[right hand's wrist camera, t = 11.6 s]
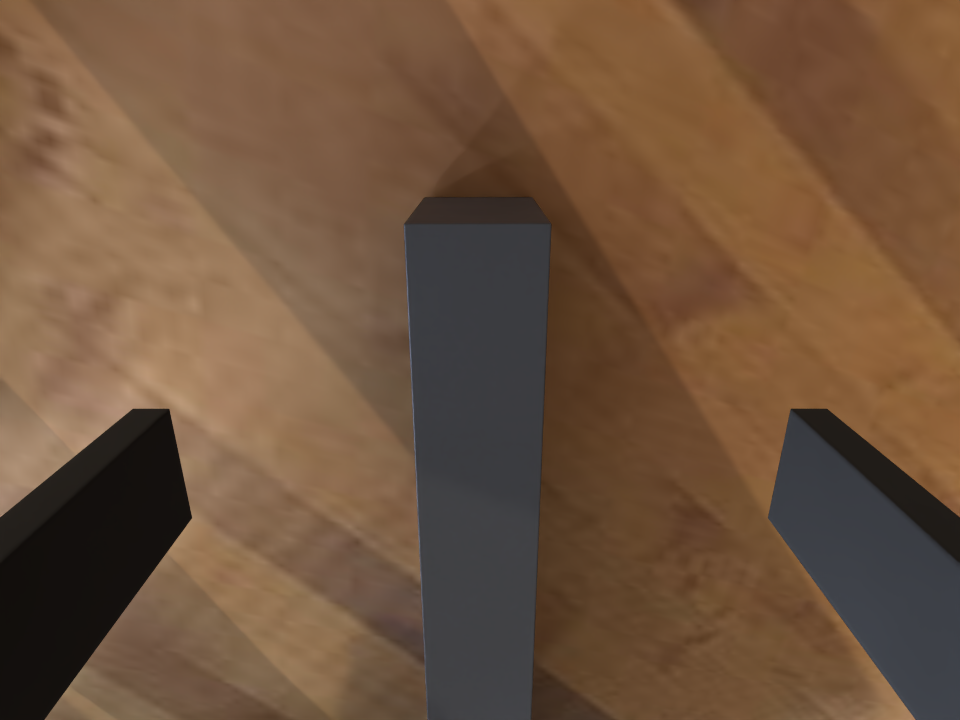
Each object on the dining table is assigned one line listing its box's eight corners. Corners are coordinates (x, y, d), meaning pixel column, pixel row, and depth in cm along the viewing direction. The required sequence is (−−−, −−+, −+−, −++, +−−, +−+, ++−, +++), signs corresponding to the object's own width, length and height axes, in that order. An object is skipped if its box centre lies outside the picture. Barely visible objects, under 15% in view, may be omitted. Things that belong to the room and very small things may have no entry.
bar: (423, 197, 28) (403, 223, 20) (532, 197, 28) (551, 223, 20) (447, 876, 46) (441, 1018, 39) (512, 876, 46) (519, 1018, 39)
